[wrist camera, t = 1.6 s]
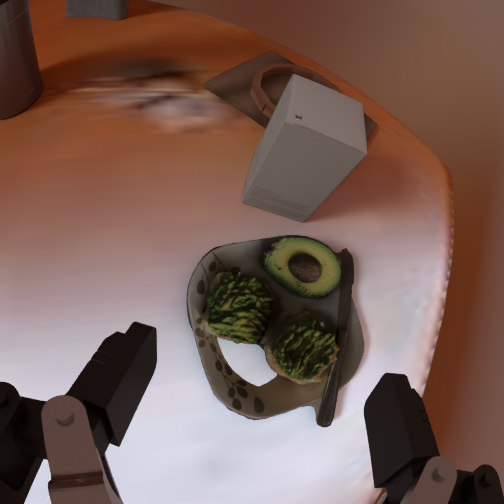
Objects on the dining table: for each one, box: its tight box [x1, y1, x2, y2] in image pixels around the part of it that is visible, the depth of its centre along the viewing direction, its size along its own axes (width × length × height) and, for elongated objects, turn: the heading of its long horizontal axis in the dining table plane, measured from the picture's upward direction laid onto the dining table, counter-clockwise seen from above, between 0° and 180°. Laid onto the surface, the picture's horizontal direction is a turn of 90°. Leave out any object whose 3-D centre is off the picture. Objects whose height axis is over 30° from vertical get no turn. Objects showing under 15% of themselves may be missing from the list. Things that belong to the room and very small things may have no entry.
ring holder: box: [204, 50, 377, 140], centre depth 39 cm, size 22×17×2 cm
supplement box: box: [242, 74, 367, 222], centre depth 28 cm, size 7×7×13 cm
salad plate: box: [187, 235, 364, 427], centre depth 26 cm, size 19×18×5 cm
